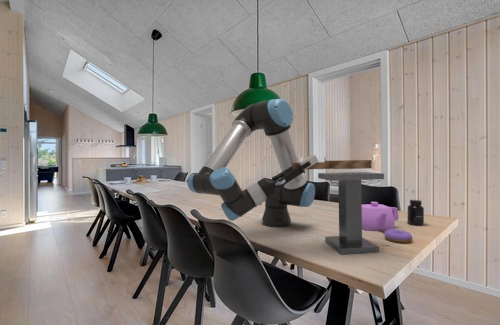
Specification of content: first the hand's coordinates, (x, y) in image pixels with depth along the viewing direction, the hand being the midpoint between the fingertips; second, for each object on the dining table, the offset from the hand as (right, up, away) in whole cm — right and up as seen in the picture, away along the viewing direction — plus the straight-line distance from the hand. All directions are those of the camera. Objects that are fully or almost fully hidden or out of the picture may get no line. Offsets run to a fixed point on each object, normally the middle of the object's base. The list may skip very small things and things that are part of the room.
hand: (314, 158), depth 93 cm
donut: (+36, -34, +8) cm, 50 cm away
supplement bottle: (+59, -33, +31) cm, 74 cm away
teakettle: (+36, -33, +27) cm, 56 cm away
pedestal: (+14, -34, +2) cm, 37 cm away
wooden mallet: (+6, -4, +1) cm, 7 cm away
